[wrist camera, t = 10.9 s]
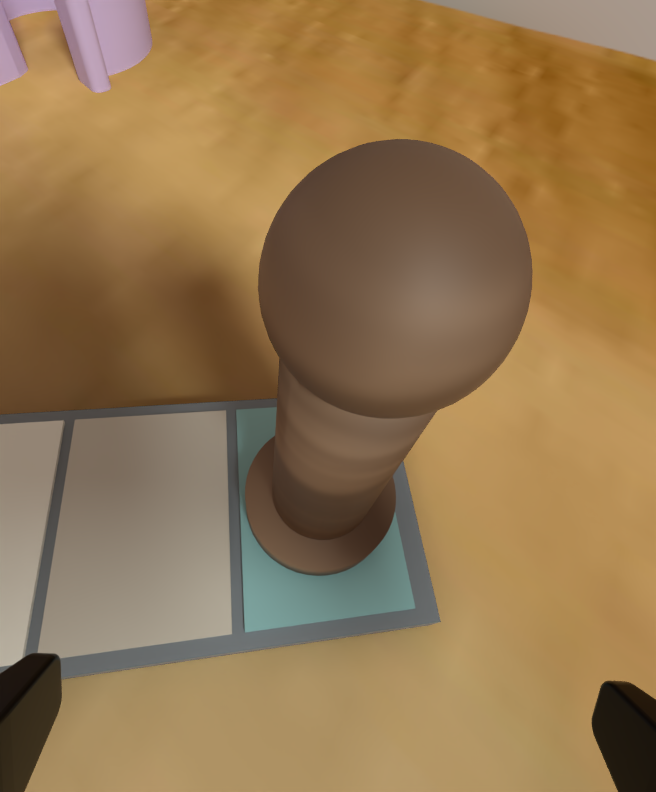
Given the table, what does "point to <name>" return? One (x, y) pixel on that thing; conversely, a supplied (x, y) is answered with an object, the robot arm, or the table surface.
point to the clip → (83, 37)
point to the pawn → (375, 335)
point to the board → (171, 544)
